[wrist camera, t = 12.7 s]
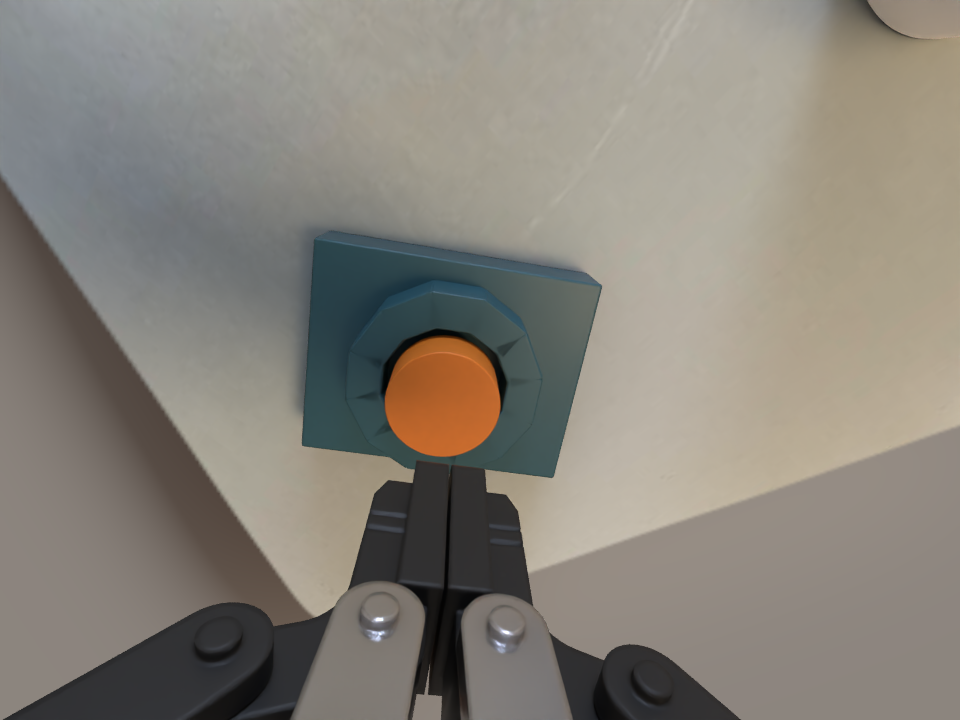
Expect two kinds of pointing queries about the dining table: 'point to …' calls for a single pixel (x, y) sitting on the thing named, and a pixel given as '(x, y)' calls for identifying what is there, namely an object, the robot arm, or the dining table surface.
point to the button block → (442, 311)
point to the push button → (442, 396)
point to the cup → (920, 17)
